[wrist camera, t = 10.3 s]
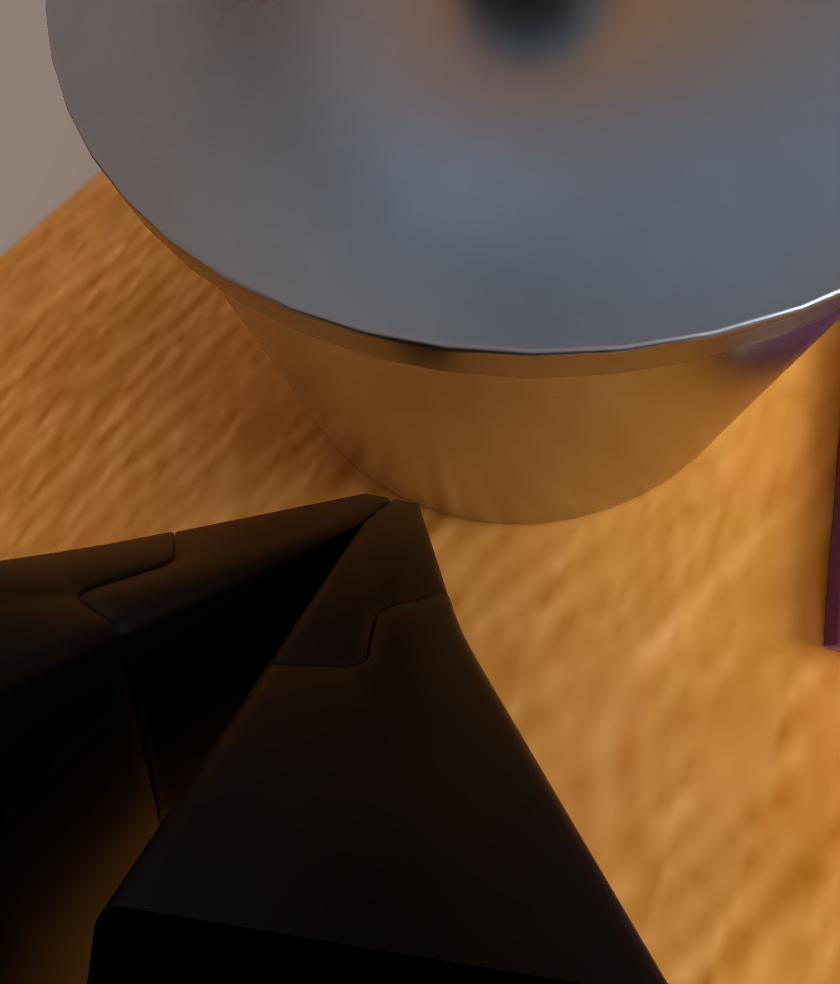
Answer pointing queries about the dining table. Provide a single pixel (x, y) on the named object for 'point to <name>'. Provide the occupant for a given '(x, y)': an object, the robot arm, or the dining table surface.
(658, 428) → the steel pot
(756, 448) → the dining table surface
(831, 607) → the purple striped coaster
